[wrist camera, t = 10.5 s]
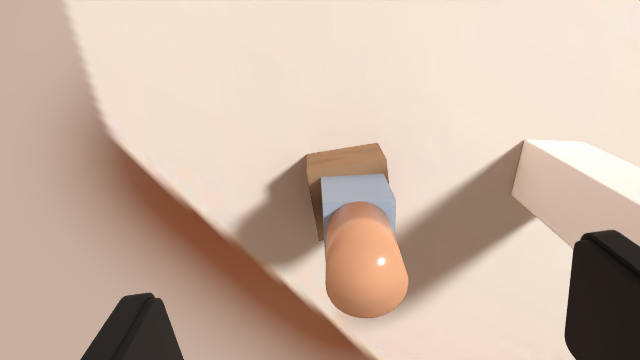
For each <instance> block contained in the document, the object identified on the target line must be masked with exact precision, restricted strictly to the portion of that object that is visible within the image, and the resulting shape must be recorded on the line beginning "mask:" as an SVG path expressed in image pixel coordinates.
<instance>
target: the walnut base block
mask: <svg viewBox="0 0 640 360" xmlns="http://www.w3.org/2000/svg"><path fill="white" fill-rule="evenodd" d="M306 172H307V177H308V183H309V188H310V193H311V199H312V204H313V209H314V215H315V220H316V225H317V231H318V236H319V241H321V240H324V225H323V207H322V188H321V177H332V176H349V175H367V174H384V176H385V178H386V180H387V182H388V184H389V179H388V170H387V161H386V157H385V156H384V154H383V152H382V150H381V148H380V146H379V144H378V143H373V144H367V145H361V146H355V147H349V148H343V149H336V150H330V151H324V152H318V153H312V154H307V170H306Z"/></svg>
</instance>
